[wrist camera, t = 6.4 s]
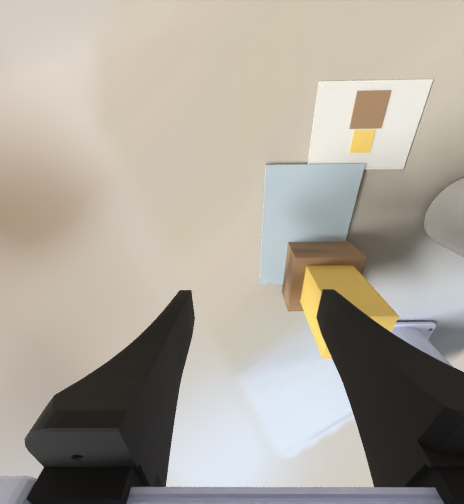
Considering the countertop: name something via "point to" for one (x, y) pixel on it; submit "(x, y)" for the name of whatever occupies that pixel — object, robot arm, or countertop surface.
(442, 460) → the robot arm
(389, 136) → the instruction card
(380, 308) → the ochre brick
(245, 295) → the countertop surface
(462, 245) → the beverage can
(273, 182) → the plate
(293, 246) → the walnut base brick
